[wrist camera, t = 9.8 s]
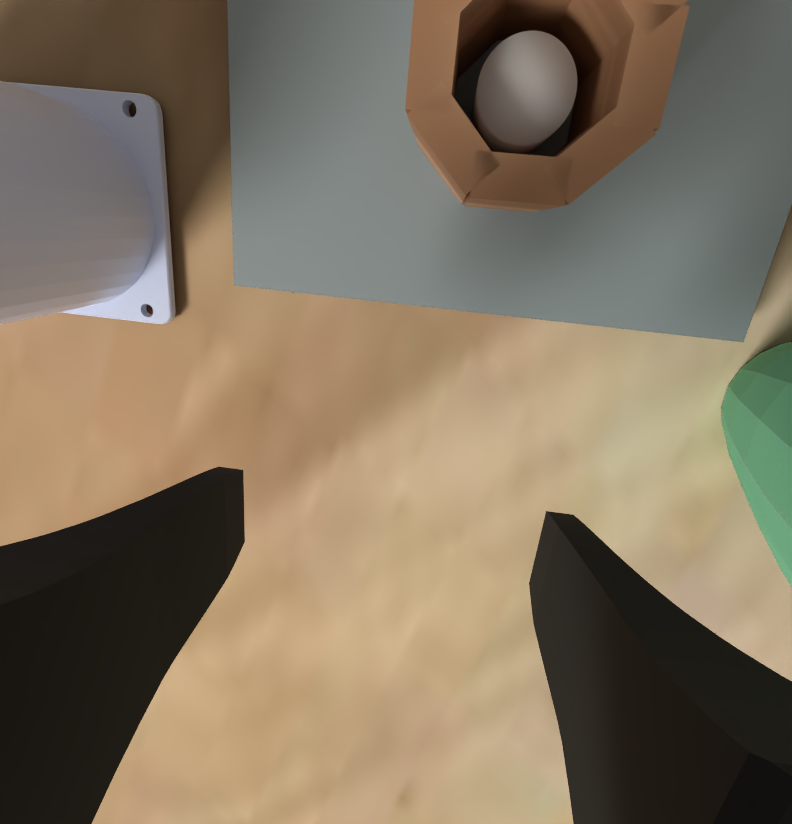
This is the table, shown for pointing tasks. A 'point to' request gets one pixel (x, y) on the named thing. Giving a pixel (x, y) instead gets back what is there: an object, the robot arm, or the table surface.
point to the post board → (500, 259)
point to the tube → (593, 107)
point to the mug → (764, 444)
